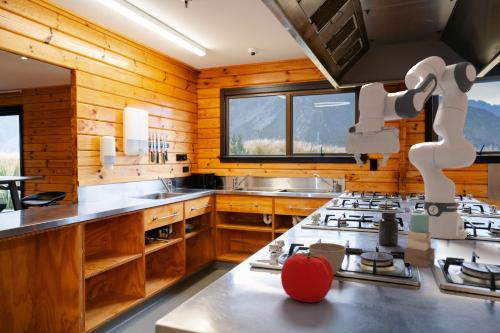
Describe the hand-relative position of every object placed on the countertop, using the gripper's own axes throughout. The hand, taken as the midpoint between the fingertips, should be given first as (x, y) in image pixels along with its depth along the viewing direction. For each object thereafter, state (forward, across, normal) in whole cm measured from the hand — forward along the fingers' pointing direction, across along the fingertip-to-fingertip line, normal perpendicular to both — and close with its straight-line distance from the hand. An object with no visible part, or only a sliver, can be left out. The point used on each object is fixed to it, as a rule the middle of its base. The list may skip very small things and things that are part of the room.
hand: (371, 166), depth 127 cm
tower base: (+29, -22, +9) cm, 38 cm away
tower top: (+24, -22, +9) cm, 34 cm away
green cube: (+19, -22, +9) cm, 30 cm away
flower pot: (+29, -10, +37) cm, 48 cm away
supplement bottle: (+29, -3, -7) cm, 30 cm away
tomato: (+29, -19, +55) cm, 65 cm away
